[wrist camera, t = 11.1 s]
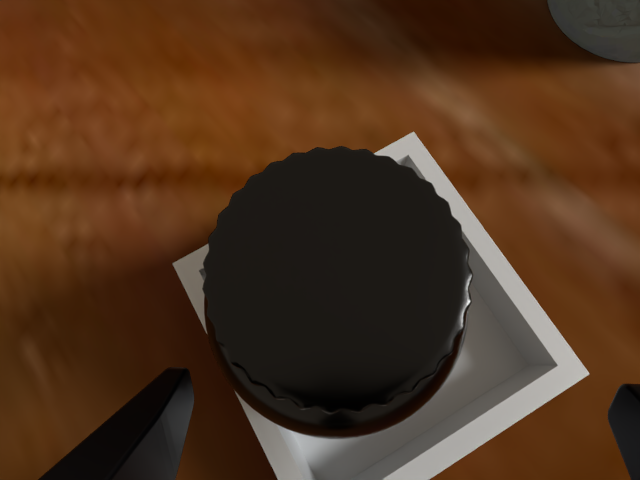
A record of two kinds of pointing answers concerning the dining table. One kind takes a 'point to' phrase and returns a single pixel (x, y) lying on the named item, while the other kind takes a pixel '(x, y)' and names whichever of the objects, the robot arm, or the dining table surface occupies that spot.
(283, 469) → the tray
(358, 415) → the supplement bottle
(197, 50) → the dining table surface
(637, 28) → the grey-green cup
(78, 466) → the robot arm
